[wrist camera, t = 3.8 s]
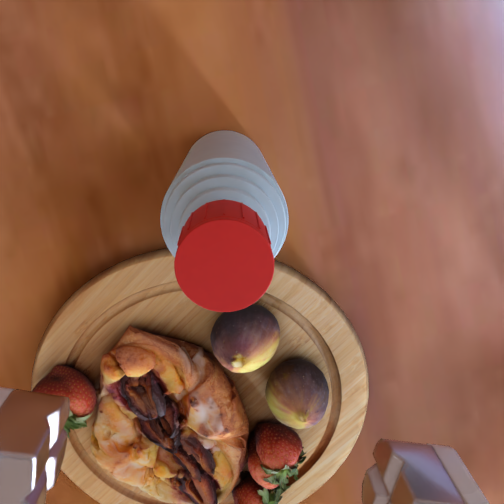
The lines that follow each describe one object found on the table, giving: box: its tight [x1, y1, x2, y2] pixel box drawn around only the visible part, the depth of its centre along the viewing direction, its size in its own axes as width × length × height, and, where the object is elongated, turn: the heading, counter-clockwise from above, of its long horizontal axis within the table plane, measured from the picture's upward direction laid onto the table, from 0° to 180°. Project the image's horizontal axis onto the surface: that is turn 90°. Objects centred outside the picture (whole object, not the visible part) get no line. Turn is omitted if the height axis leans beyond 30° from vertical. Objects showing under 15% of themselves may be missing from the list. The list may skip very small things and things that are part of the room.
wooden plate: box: [31, 248, 369, 504], centre depth 42 cm, size 32×32×8 cm
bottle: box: [160, 130, 289, 258], centre depth 29 cm, size 7×7×21 cm
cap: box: [174, 199, 275, 312], centre depth 20 cm, size 4×4×3 cm
